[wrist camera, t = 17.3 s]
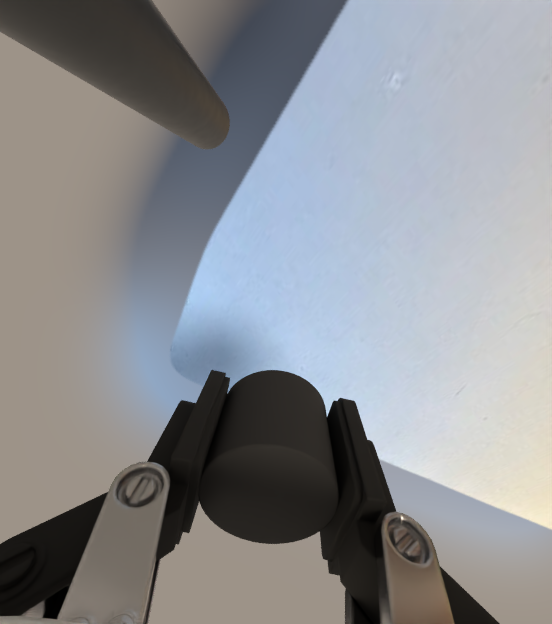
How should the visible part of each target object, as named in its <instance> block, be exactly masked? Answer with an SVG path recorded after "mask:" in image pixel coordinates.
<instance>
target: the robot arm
mask: <svg viewBox="0 0 552 624" xmlns="http://www.w3.org/2000/svg"><path fill="white" fill-rule="evenodd" d="M225 375H226V373H223V372H219V371H214V370H211V372H210V374H209V376H208V378H207V381H206V383H205V385H204V387H203V389H202V391H201V394H200V396H199V398H198V400H197V402H196V403H192V402H188V401H183V400H182V401H180V403H179V404H178V406H177V408H176V410H175V412H174V414H173V415H172V417H171V419H170V421H169V423H168V425H167V426H166V428H165V430H164V432H163V434H162V436H161V437H160V439H159V441H158V443H157V445H156V446H155V448H154V450H153V452H152V454H151V456H150V457H149V459H148V461H147V462H139V463H136V464H133V465H130V466H129V467H127V468H125V469H124V470H122V471H121V472H120V473H119V474H118V475H117V476H116V477H115V479H114V481H113V483H112V484H111V486H110V489H109V491H108V492H107V493H105V494H103V495H101V496H98V497H96V498H94V499H92V500H90V501H88V502H86V503H84V504H82V505H79V506H77V507H75V508H73V509H71V510H69V511H67V512H65V513H63V514H61V515H58V516H56V517H54V518H52V519H50V520H48V521H46V522H44V523H41V524H39V525H38V526H35V527H33V528H31V529H29V530H27V531H25V532H23V533H20V534H19V535H16V536H14V537H12V538H10V539H8V540H6V541H5V542H3V543H1V544H0V624H148V622H149V617H150V612H151V607H152V601H153V596H154V590H155V586H156V580H157V575H158V570H159V564H160V559H161V558H163V557H164V556H165V555H167V554H168V553H169V552H171V551H173V550H174V548H175V545H176V544H179V542H180V539H181V536H182V533H183V532H187V533H189V532H190V529H191V526H192V522H193V519H194V516H195V513H196V509H197V506H198V503H199V497H198V492H199V486H200V481H201V476H202V471H203V468H204V465H205V462H206V459H207V456H208V453H209V450H210V447H211V444H212V440H213V437H214V434H215V431H216V428H217V425H218V422H219V419H220V416H221V413H222V409H223V406H224V403H225V400H226V397H227V392H228V387H229V382H230V378H228V377H225ZM327 421H328V427H329V433H330V439H331V445H332V451H333V457H334V463H335V469H336V475H337V481H338V487H339V494H340V497H339V504H338V508H337V510H336V513H335V515H334V517H333V518H332V520H331V521H330V522H329V523H328V525H327V526H325V527H324V528H323V529H322V530H320V537H321V549H322V556H323V559H325V560H328V568H329V573H330V574H335V575H340V580H341V583H342V584H343V585H344V586H345V588H346V591H345V624H499V623H498V622H497V621H496V620H495V619H494V618H493V617H492V616H491V615H490V614H489V613H488V612H487V611H486V610H485V609H484V608H483V607H482V606H481V605H480V604H479V603H477V602H476V600H474V599H473V598H472V597H471V596H470V595H469V594H468V593H467V592H466V591H465V590H464V589H463V588H462V587H461V586H460V585H459V584H458V583H457V582H456V581H455V580H454V579H453V578H452V577H450V576H449V575H448V574H447V573H446V572H445V571H444V570H443V569H442V568H441V567H440V566H439V562H438V558H437V554H436V550H435V548H434V545H433V543H432V540H431V539H430V537H429V535H428V534H427V532H426V531H425V530H424V529H423V528H422V526H421V525H420V524H419V523H418V522H416V521H415V520H414V519H412V518H411V517H409V516H407V515H405V514H403V513H399V512H396V509H395V506H394V503H393V500H392V497H391V494H390V491H389V488H388V485H387V483H386V479H385V477H384V474H383V470H382V468H381V465H380V462H379V459H378V456H377V453H376V450H375V447H374V445H373V442H371V441H370V440H367V437H366V434H365V431H364V428H363V425H362V422H361V419H360V415H359V412H358V409H357V406H356V403H355V401H352V400H347V399H343V398H339V400H338V401H333V403H332V406H331V409H330V411H329V414H328V417H327Z"/></svg>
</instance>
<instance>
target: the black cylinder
mask: <svg viewBox="0 0 552 624" xmlns="http://www.w3.org/2000/svg"><path fill="white" fill-rule="evenodd" d="M198 497H199V502H200V504H201V507H202V509H203V510H204V512H205V514H206V515H207V516H208V517H209V519H210V520H211V521H213V522H214V523H215V524H216V525H217V526H218V527H220V528H221V529H223V530H224V531H226V532H228V533H230V534H232V535H234V536H236V537H239V538H242V539H245V540H248V541H252V542H258V543H266V544H280V543H289V542H295V541H298V540H302V539H305V538H308V537H310V536H312V535H314V534H316V533H317V532H319V531H320V530H322V529H323V528H324V527H325V526H327V525H328V523H329V522H330V521H331V520H332V518H333V517H334V515H335V513H336V510H337V508H338V504H339V497H340V494H339V487H338V481H337V475H336V469H335V463H334V457H333V451H332V445H331V439H330V433H329V427H328V421H327V415H326V409H325V405H324V401H323V399H322V397H321V395H320V394H319V392H318V391H317V390H316V388H315V387H314V386H313V385H312V384H310V383H309V382H308V381H307V380H305V379H303V378H302V377H300V376H297V375H295V374H292V373H289V372H285V371H278V370H267V371H260V372H256V373H253V374H250V375H248V376H246V377H244V378H242V379H241V380H240V381H238V382H237V383H236V384H235V385H234V386H233V387H232V388H231V389H230V391H229V392H228V394H227V397H226V400H225V403H224V406H223V409H222V413H221V416H220V419H219V422H218V425H217V428H216V431H215V434H214V437H213V440H212V444H211V447H210V450H209V453H208V456H207V459H206V462H205V465H204V468H203V471H202V476H201V481H200V486H199V492H198Z"/></svg>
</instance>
